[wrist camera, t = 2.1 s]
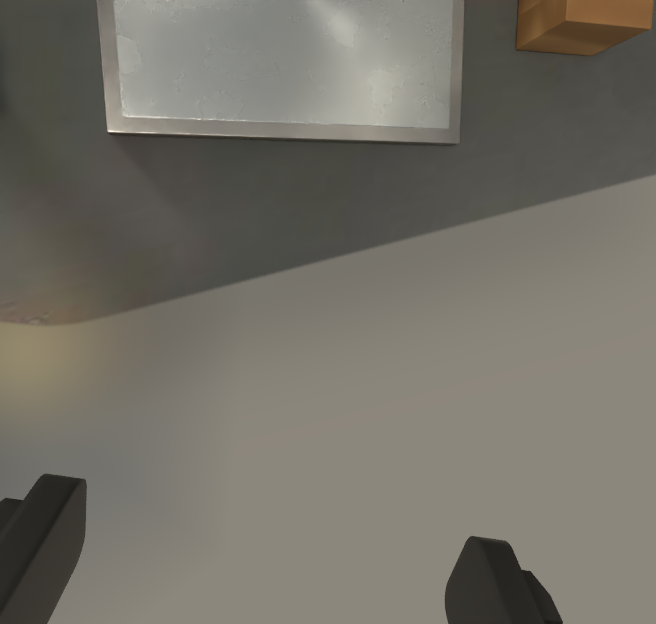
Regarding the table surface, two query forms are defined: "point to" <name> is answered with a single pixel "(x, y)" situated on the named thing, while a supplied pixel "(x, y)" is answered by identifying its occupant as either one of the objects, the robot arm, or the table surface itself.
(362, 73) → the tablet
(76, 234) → the table surface
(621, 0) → the holder
